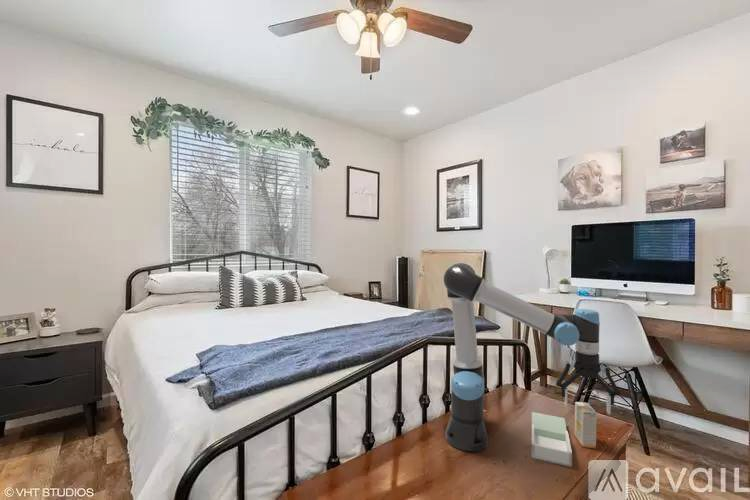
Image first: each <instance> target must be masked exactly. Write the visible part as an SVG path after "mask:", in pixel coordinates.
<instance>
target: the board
mask: <svg viewBox="0 0 750 500" xmlns="http://www.w3.org/2000/svg"><path fill="white" fill-rule="evenodd" d="M532 424H534V434H535V435H539V436H544V437H548V438H553V439H558V440H562V441H565V431H568V430H567V426H566V419H565V417H560V416H555V415H549V414H546V413H545V414H544V413H539V412H536V411H535V412H534V411H531V425H532Z"/></svg>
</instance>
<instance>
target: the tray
mask: <svg viewBox="0 0 750 500" xmlns="http://www.w3.org/2000/svg"><path fill="white" fill-rule="evenodd" d="M531 459H534V460H540V461H544V462H548V463H552V464H556V465H561V466H565V467H569V468H572V467H573V451H572V447H571V440H570V436H569V432H568V430H567V431H565V441H562V440H558V439H553V438H548V437H544V436H539V435H535V434H534V424H532V423H531Z"/></svg>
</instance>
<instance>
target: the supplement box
mask: <svg viewBox="0 0 750 500" xmlns="http://www.w3.org/2000/svg"><path fill="white" fill-rule="evenodd" d="M597 413H598V412H597V411H596V410H595V409H594V408H593V407H592V406H591V405H590V404H589V402H581V401H575V402H574V437H575V439H576V440H577V441H578V443H579V444H580V446H581V447H582V448H590V449H597V447H596V446H597V417H598V415H597Z"/></svg>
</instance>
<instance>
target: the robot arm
mask: <svg viewBox="0 0 750 500" xmlns="http://www.w3.org/2000/svg"><path fill="white" fill-rule="evenodd" d="M443 284H444V286H445V288H446V292H447V298H448V300H450V301H451V309H452V318H453V319H452V321H453V332H454V333H453V335H454V344H455V346H454V347H455V356H456V358H455V360H454V361H453V363H452V364H453V365H452V367H453V376H452V377H451V382H450V389H451V390H450V391H451V393H450V395H451V396H450V397H451V398H450V418H449V420H448V424H447V425H446V429H445V439H446V440H445V441H447V443H448V444H449V445H450V446H452V447H454V448H456V449H458V450H462V451H465V452H479V451H482V450H485V449H486V448H487V447H488V444H489V435H488V433H487V429H486V426H485V422H484V410H485V409H484V408H485V407H484V403H485V401H484V400H485V381H486V379H485V376H484V366H483V362H482V361H481V360H480V359H479V354H478V343H477V341H478V339H477V329H476V328H477V327H476V319H475V307H474V302H478V303H480V304H482V305H483V306H487V308H488V307H489V308H490V309H493V310H494V311H497V312H498V313H501V314H503V315H505V316H507V317H509V318H511V319H513V320H515V321H517V322H519V323H521V324H523V325H526V326H527V327H529V328H531V329H533V330H536V331H537V332H540V333H542V334H544V335H545V336H548V337H549V338H551V339H554V340H556V342H557V343H559V344H561V345H563V346H567V347H570V346H573V345H574V346H575V356H574V357H575V361H574V363H570V362H569V361H565V366H564V367H563V370H562V372H561V373H560V375H559V377H558V378H557V380H556V381H555V386H556V387H558V388H560V390H561V391H560V395H561V397H562V398H564V401H563V402H564V407H565V408H568V387H569V386H570V385H571V384H572V383H573V382H574V381H575V380H577V379H578V378H579V377H582V378H588V379H595V380H597V381H598V382H599V383H600V385H601V386H602V387H603V388H604V389H605V390H606V413H607V415H612V414H611V408H612V407H611V406H614V404H615V397H616V396H621V392H620V390H619V388H618V386H617V385H616V383H615V380H614V379H613V378H612V375H611V370H610V368H609V367H608V366H607V365H605V366H604V367H603V366H600V354H599V352H600V325H601V323H600V314H599V312H598V311H596V310H593V309H587V308H579V309H576V310H575V313H574V314H566V313H552V312H549V311H547V310H545V309H543V308H540V307H538V306H536V305H534V304H532V303H530V302H529V301H526V300H524V299H522V298H519V297H517V296H515V295H513V294H511V293H509V292H507V291H505V290H503V289H500V288H498V287H497V286H494V285H492V284H490V283H487V282H486V280H485V278H483V277H481V276H479V275H477V274H476V272H475V269H474V268H473V267H472V266H471V265H469V264H466V263H461V262H459V263H454V264H452V265H451V266H449V268H447V270H446V271H445V273H444V274H443ZM572 368H574V370H575V371H574V372H573V373H572V374H571V375H570V376H569V377H567V378H566V376H567V375H568V373H569V371H570V370H572ZM600 372H602V373H603V374H605V376H606V377H607V379H608V381H609V383H610V385H611V386H612V388H613V390H612V389H611V388H610V387H609V385H608V384H607V383H606V382H605V380H604V379H602V377H601V376H600V375H599V373H600ZM565 378H566V380H565V381H564V379H565Z"/></svg>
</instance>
